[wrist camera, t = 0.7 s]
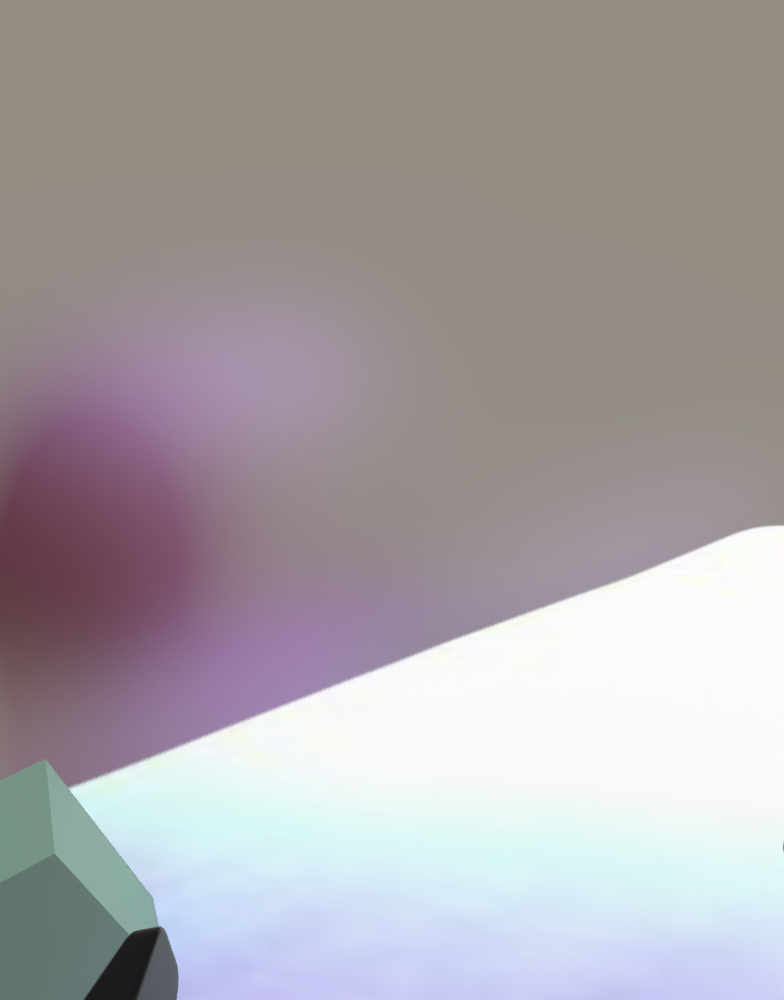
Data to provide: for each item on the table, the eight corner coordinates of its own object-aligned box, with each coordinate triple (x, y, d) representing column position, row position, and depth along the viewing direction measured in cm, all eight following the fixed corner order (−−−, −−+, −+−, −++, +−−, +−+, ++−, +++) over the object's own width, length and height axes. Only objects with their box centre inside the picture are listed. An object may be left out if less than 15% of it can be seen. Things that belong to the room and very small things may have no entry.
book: (170, 979, 20) (55, 853, 15) (12, 1083, 19) (-193, 986, 13) (152, 897, 23) (45, 758, 17) (9, 982, 21) (-168, 860, 15)
